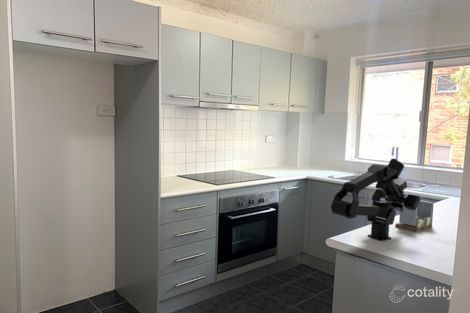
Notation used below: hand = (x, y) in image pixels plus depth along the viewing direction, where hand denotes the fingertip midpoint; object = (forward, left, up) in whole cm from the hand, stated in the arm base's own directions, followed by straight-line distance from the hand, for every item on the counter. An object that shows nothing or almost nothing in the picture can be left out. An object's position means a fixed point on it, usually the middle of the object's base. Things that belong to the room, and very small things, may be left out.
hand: (401, 210), depth 152 cm
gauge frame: (+11, +2, -9) cm, 14 cm away
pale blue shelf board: (+7, 0, -7) cm, 10 cm away
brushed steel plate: (+17, +3, -7) cm, 19 cm away
